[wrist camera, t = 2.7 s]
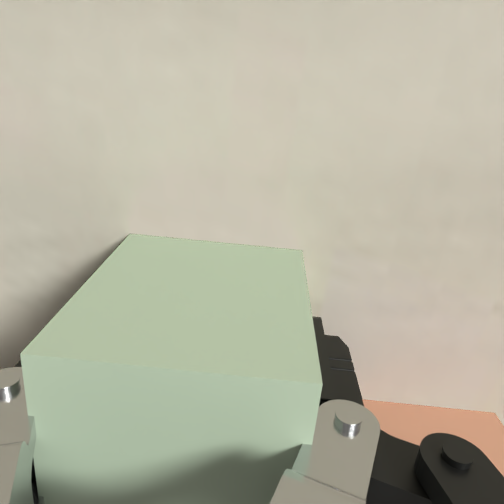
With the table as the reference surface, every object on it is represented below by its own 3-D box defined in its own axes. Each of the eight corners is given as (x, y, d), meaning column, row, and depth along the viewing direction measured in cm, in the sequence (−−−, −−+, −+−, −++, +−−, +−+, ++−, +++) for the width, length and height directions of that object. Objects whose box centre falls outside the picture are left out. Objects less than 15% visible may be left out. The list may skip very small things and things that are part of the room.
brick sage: (302, 250, 13) (322, 384, 7) (282, 391, 15) (287, 583, 9) (129, 234, 13) (19, 354, 7) (132, 375, 15) (46, 557, 9)
